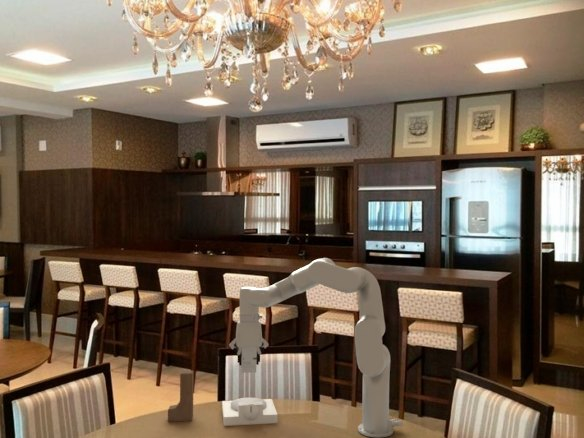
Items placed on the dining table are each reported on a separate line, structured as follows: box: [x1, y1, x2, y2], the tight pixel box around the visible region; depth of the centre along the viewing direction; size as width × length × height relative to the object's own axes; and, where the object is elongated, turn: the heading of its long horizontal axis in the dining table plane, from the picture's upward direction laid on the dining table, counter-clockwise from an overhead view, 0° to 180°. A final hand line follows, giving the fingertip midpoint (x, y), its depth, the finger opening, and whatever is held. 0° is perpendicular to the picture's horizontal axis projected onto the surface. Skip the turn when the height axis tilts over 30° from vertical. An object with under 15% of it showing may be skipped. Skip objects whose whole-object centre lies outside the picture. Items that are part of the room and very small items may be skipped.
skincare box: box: [240, 347, 257, 374], centre depth 212 cm, size 6×4×12 cm
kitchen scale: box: [221, 397, 279, 427], centre depth 210 cm, size 20×18×8 cm
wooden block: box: [167, 370, 195, 422], centre depth 206 cm, size 9×4×18 cm, turn 93°
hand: (248, 363), depth 212 cm, fingers closed on skincare box, 6 cm apart
